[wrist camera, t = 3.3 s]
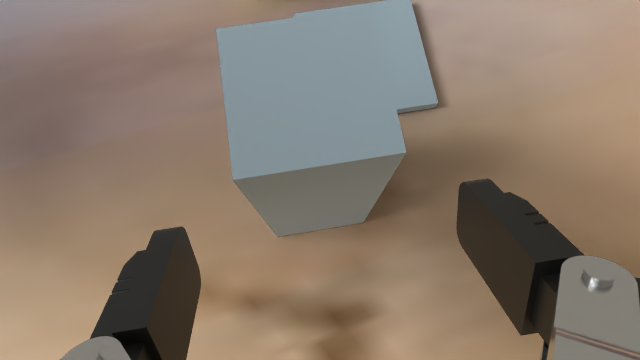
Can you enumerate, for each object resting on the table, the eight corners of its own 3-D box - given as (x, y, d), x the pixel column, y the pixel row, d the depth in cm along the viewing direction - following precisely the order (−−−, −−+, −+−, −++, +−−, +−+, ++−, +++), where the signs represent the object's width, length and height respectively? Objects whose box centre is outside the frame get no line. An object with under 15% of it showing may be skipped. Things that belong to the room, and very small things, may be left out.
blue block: (277, 237, 21) (233, 180, 10) (266, 155, 22) (215, 28, 11) (363, 222, 21) (406, 152, 10) (347, 142, 22) (372, 6, 12)
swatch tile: (312, 126, 22) (312, 122, 22) (294, 20, 24) (293, 13, 24) (435, 107, 23) (438, 102, 22) (407, 3, 24) (409, -3, 24)
